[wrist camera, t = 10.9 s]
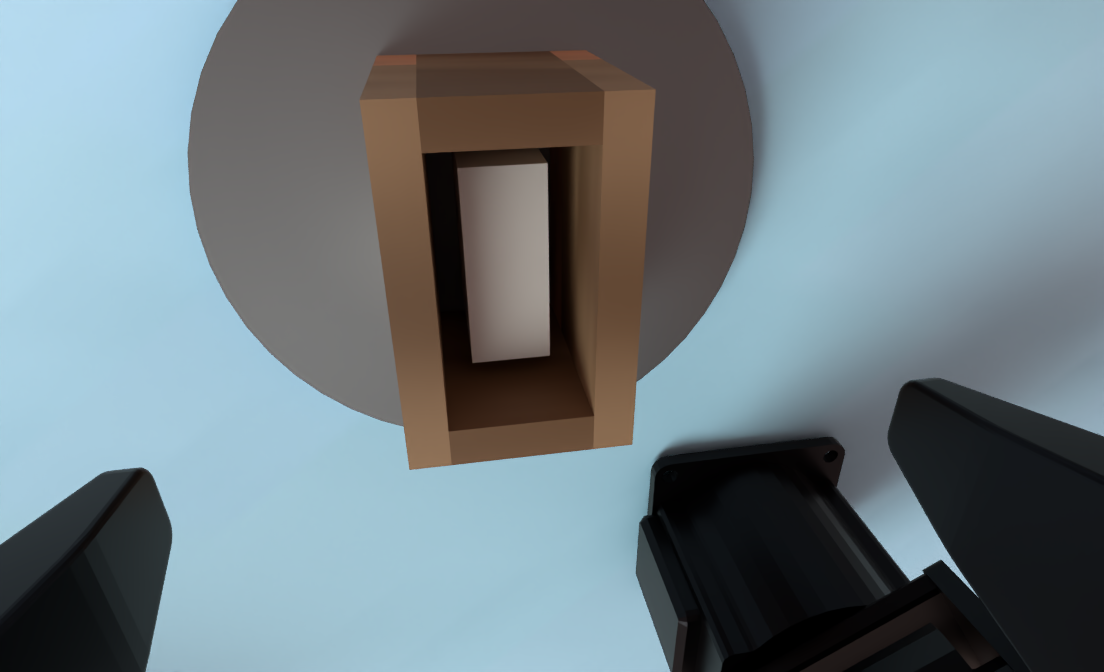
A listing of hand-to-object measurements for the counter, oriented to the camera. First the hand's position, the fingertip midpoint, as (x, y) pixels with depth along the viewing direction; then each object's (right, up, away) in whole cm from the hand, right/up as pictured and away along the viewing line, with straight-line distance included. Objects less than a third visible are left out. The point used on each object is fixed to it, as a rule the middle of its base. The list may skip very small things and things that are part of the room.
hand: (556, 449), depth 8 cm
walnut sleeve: (-1, +4, +8) cm, 9 cm away
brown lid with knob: (-2, +5, +9) cm, 10 cm away
